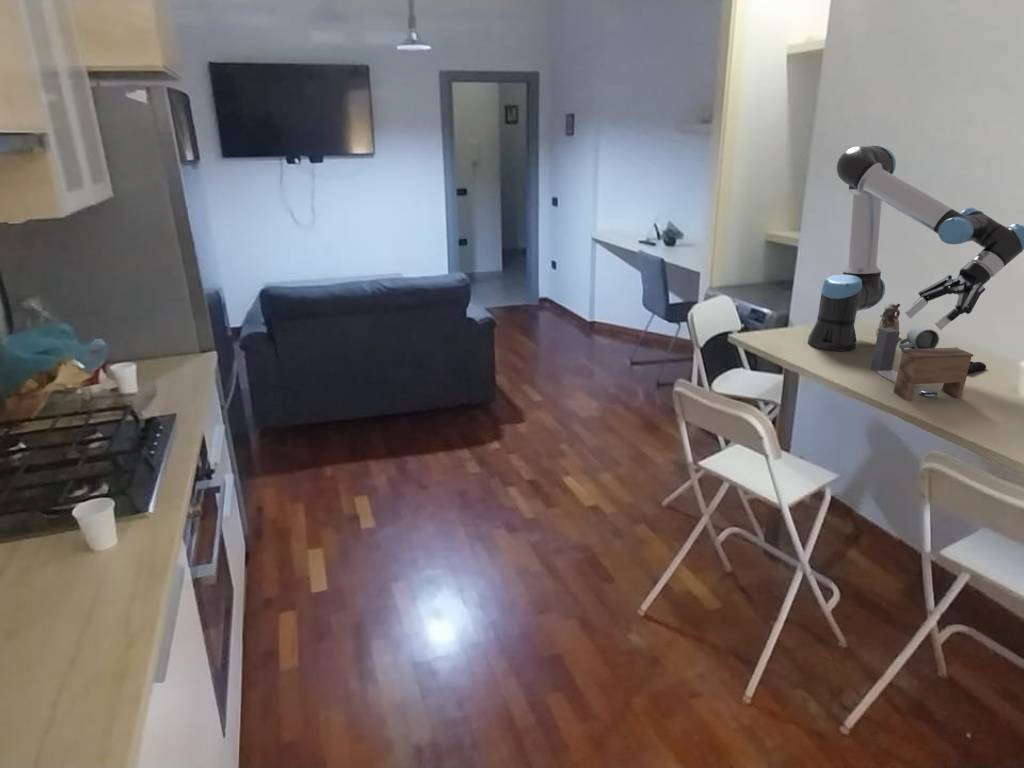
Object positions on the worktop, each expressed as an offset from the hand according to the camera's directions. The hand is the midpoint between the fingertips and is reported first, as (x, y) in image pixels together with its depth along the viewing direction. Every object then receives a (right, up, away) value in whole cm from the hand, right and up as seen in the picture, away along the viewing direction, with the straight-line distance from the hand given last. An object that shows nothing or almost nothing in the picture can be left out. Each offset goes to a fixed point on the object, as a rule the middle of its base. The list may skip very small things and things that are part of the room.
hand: (922, 320), depth 203 cm
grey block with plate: (-9, -17, -1) cm, 19 cm away
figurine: (+12, -2, +40) cm, 42 cm away
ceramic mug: (+14, -7, +27) cm, 31 cm away
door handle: (+15, -13, +13) cm, 24 cm away
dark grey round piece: (-7, -22, -14) cm, 28 cm away
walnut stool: (-7, -22, -14) cm, 27 cm away
